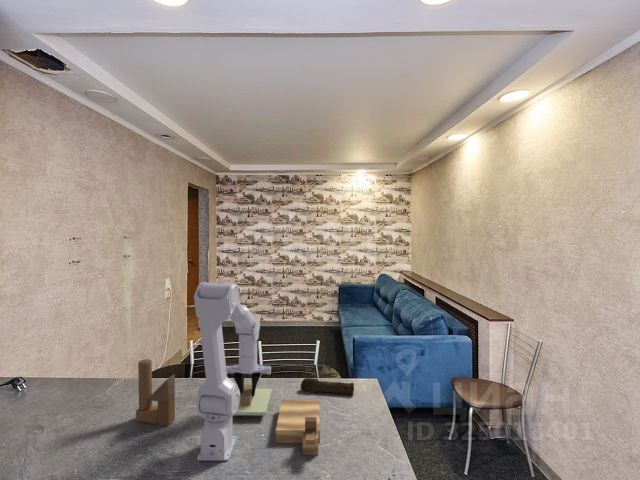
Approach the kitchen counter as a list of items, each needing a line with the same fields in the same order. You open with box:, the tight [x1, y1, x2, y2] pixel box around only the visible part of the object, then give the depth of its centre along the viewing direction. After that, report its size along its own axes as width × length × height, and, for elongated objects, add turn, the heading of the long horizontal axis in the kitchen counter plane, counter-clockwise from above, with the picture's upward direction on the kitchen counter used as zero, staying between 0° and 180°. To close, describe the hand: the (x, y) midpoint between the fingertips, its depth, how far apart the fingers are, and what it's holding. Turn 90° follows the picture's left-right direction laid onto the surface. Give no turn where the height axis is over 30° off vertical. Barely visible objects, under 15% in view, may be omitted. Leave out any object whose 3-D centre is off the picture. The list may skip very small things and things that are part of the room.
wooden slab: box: [275, 399, 321, 456], centre depth 100 cm, size 21×12×4 cm, turn 1°
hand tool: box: [300, 377, 355, 397], centre depth 124 cm, size 19×4×5 cm, turn 81°
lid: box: [233, 384, 273, 416], centre depth 112 cm, size 15×12×4 cm
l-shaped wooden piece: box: [305, 417, 317, 445], centre depth 90 cm, size 6×3×4 cm, turn 1°
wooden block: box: [135, 358, 176, 427], centre depth 104 cm, size 4×11×18 cm, turn 79°
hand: (247, 395), depth 112 cm, fingers closed on lid, 3 cm apart
